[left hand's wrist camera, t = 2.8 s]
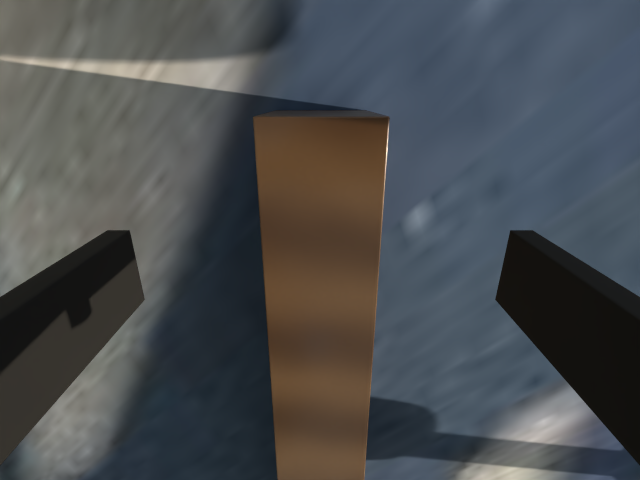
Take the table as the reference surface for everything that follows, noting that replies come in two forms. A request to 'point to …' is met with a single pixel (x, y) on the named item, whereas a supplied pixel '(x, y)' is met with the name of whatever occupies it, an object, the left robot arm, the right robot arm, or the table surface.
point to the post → (321, 281)
